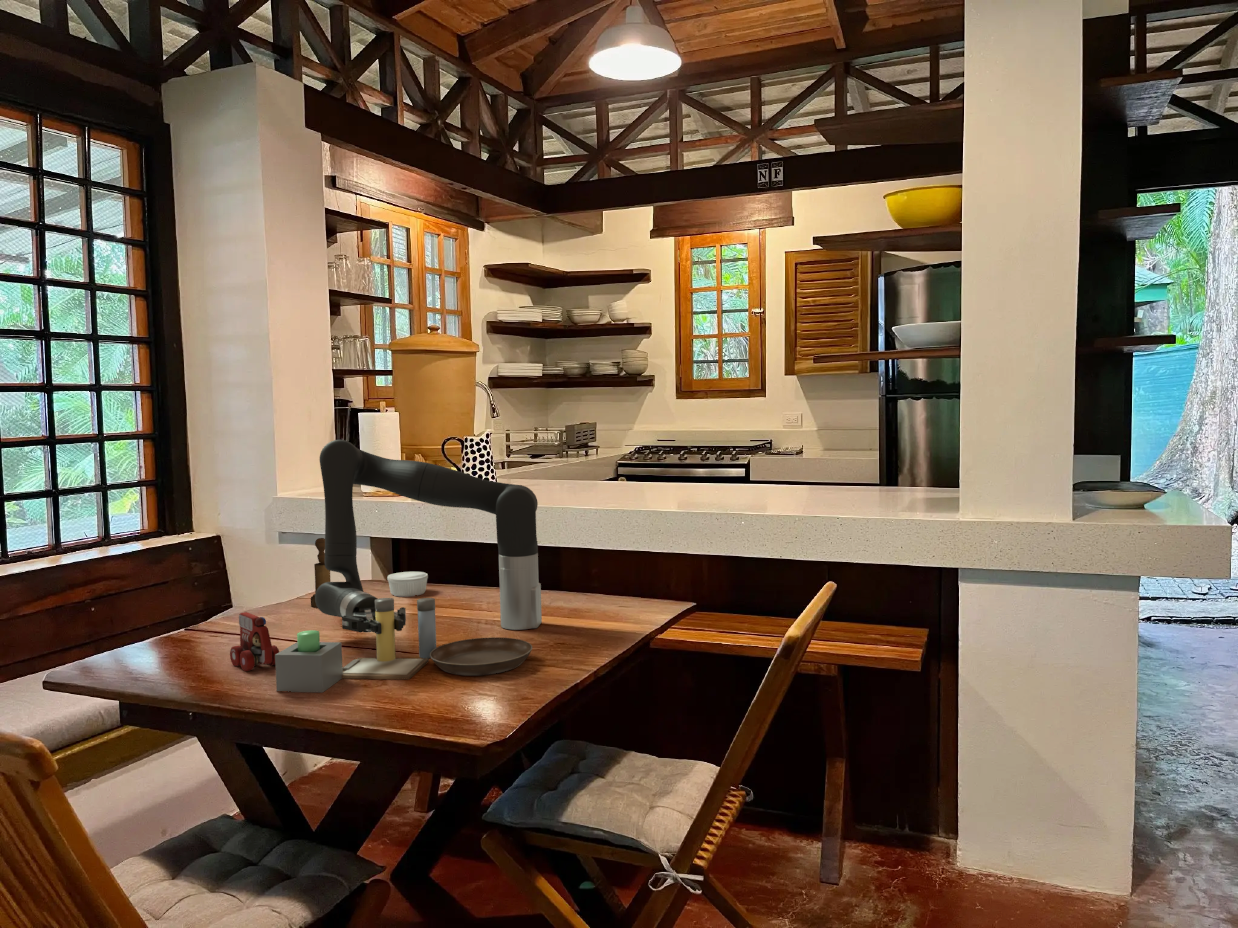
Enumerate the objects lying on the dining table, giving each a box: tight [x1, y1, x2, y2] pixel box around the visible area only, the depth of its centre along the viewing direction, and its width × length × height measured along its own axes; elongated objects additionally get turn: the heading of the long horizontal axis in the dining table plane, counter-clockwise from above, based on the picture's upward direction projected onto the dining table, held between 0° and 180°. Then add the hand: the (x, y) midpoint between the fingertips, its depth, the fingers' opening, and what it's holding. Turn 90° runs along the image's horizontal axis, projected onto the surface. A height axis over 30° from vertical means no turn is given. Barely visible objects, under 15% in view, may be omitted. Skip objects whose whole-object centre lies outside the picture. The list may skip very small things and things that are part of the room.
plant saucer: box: [430, 636, 533, 677], centre depth 184 cm, size 21×21×3 cm
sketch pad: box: [342, 657, 430, 680], centre depth 182 cm, size 15×12×1 cm
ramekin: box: [386, 571, 429, 598], centre depth 254 cm, size 11×11×5 cm
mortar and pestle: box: [310, 537, 331, 608], centre depth 241 cm, size 7×6×18 cm
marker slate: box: [416, 597, 437, 659], centre depth 190 cm, size 4×4×12 cm
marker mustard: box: [375, 597, 396, 661], centre depth 181 cm, size 4×4×12 cm
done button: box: [296, 629, 321, 652], centre depth 172 cm, size 4×4×4 cm
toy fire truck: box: [229, 611, 280, 672], centre depth 186 cm, size 7×12×10 cm, turn 45°
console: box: [274, 641, 344, 693], centre depth 173 cm, size 9×9×7 cm
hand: (390, 627), depth 179 cm, fingers closed on marker mustard, 3 cm apart
